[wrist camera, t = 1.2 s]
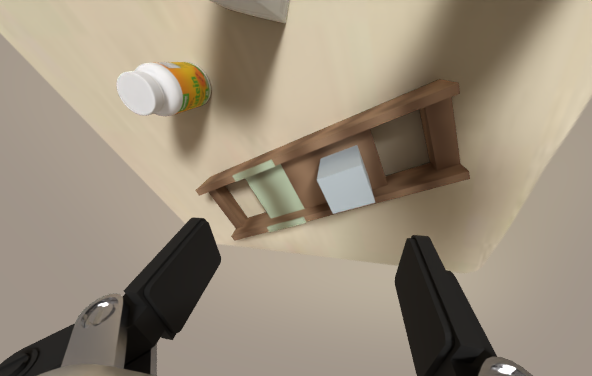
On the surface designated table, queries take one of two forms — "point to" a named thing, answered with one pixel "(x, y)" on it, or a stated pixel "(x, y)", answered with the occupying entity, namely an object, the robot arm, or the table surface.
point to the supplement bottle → (164, 88)
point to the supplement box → (258, 8)
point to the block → (345, 180)
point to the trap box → (310, 149)
